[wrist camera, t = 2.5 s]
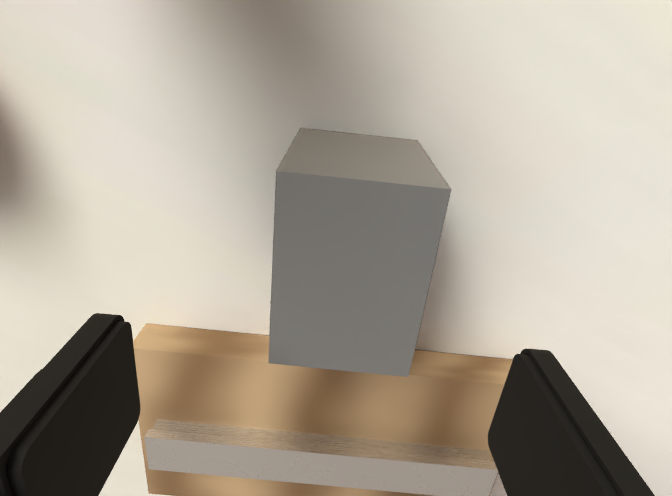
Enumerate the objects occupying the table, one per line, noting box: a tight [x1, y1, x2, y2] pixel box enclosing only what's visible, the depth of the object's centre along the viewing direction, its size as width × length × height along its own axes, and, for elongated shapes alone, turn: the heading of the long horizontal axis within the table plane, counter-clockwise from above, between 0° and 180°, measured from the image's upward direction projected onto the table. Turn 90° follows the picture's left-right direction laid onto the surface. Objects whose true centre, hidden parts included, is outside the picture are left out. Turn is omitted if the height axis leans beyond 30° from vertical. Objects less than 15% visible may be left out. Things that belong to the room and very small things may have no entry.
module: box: [268, 128, 451, 377], centre depth 17 cm, size 5×8×7 cm, turn 174°
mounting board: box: [133, 324, 513, 496], centre depth 24 cm, size 20×11×2 cm, turn 84°
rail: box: [144, 419, 498, 496], centre depth 23 cm, size 18×2×2 cm, turn 84°
